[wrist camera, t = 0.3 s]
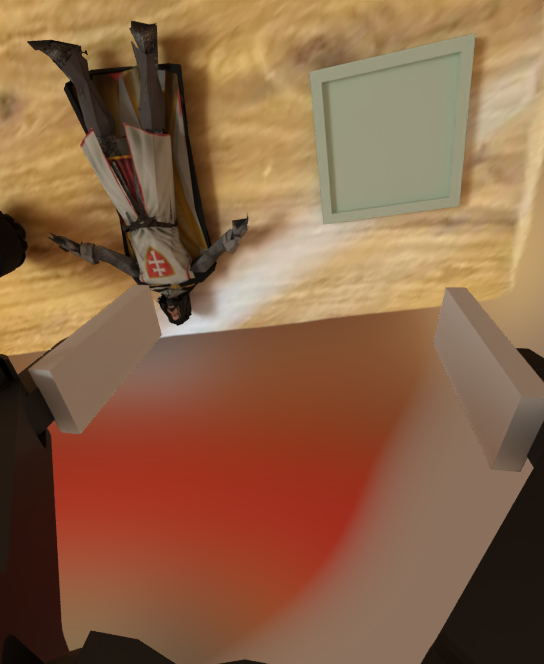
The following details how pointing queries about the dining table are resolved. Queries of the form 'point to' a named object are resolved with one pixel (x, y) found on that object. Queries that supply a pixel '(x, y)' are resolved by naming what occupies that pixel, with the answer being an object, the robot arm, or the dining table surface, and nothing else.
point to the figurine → (143, 169)
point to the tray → (393, 131)
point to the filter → (11, 244)
